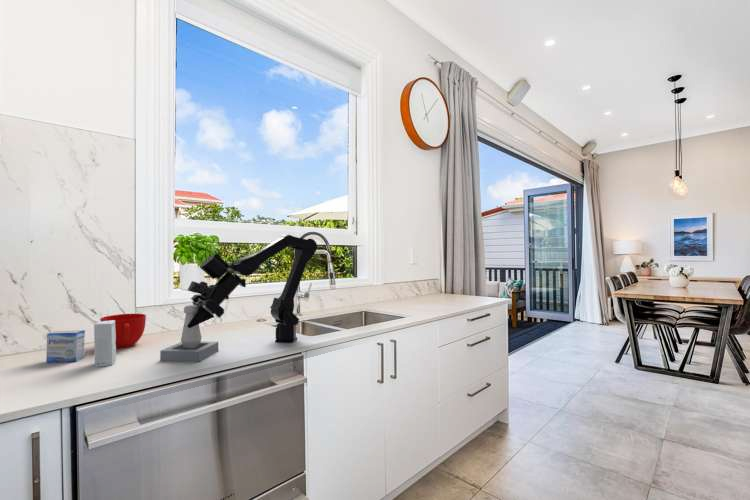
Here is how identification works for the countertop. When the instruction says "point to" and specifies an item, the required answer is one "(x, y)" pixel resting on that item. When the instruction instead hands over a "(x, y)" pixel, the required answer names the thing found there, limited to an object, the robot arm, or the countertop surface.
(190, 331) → the salt shaker
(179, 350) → the grey square tray
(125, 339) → the ceramic cup
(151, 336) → the countertop surface
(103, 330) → the skincare box
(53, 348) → the medicine box
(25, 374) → the countertop surface
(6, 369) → the countertop surface
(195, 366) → the countertop surface
